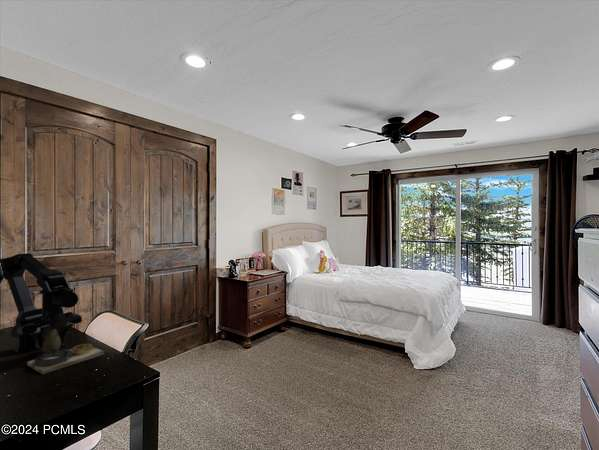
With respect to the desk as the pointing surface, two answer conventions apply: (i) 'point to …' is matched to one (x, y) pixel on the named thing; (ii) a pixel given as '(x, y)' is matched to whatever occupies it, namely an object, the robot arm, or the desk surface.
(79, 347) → the narrow collar
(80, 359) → the fitting board
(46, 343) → the decorative egg
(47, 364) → the collar
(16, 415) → the desk surface
